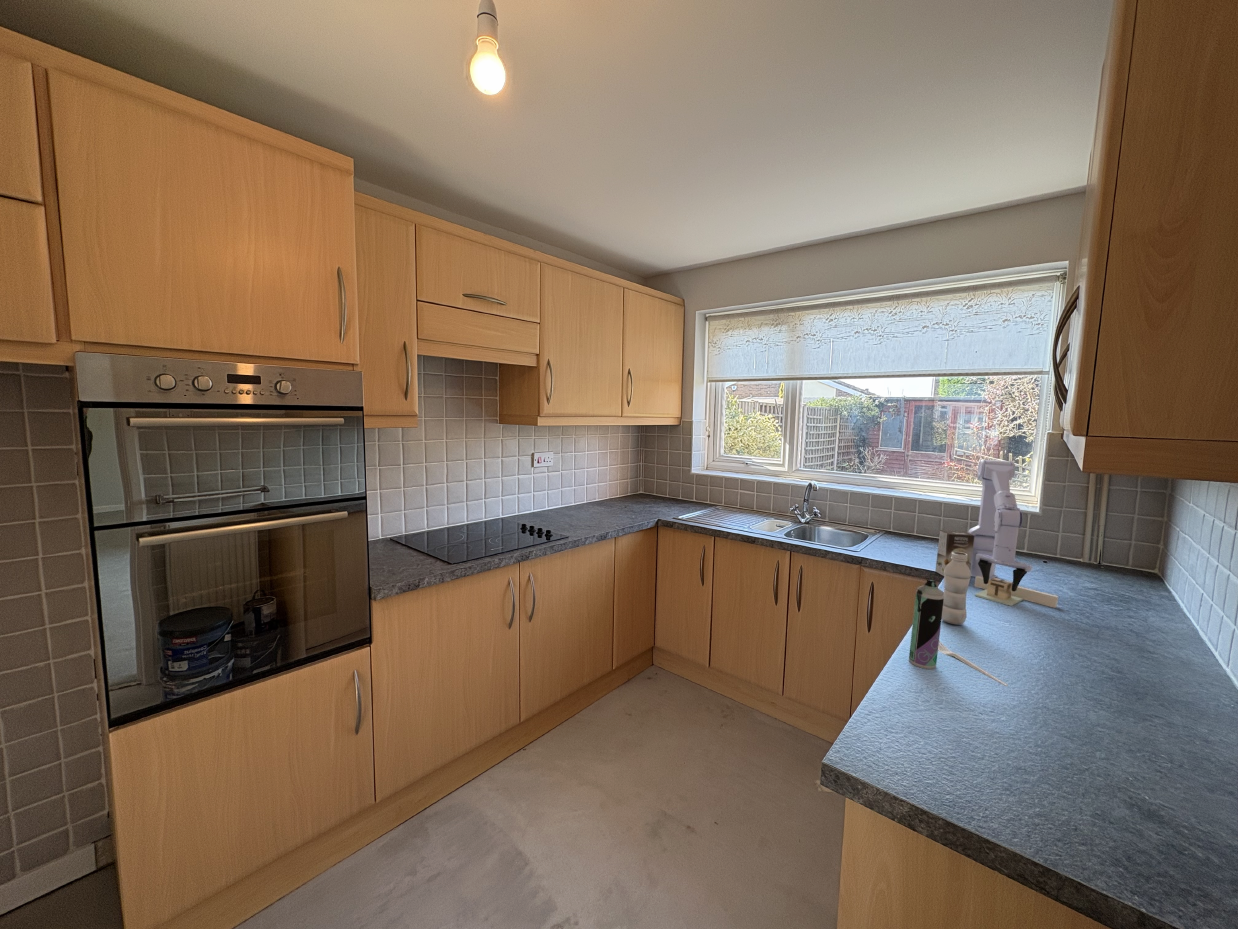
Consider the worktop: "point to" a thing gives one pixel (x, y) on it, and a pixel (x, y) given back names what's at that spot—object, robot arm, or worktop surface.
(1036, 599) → the cream board
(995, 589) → the lettered cube
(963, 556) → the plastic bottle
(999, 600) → the pad
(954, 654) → the fork
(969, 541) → the coffee box
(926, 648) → the spray can
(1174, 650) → the worktop surface
